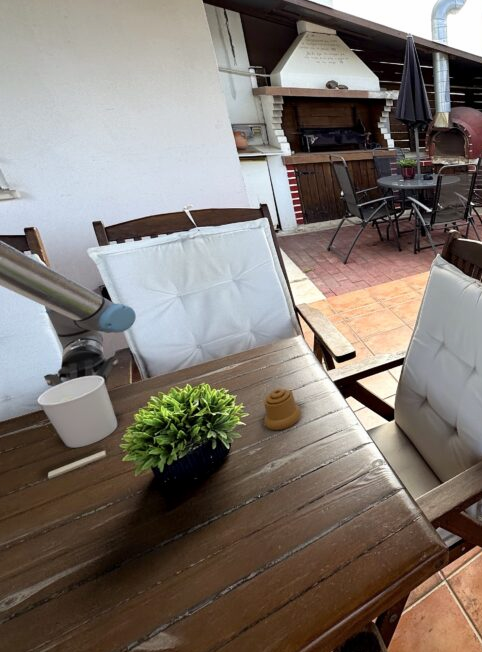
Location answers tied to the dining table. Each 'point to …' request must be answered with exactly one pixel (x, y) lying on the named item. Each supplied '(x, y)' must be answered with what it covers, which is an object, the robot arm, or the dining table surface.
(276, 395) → the ornamental finial
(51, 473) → the strip
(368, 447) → the dining table surface
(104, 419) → the white tapered cylinder
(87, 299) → the robot arm
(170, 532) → the dining table surface
